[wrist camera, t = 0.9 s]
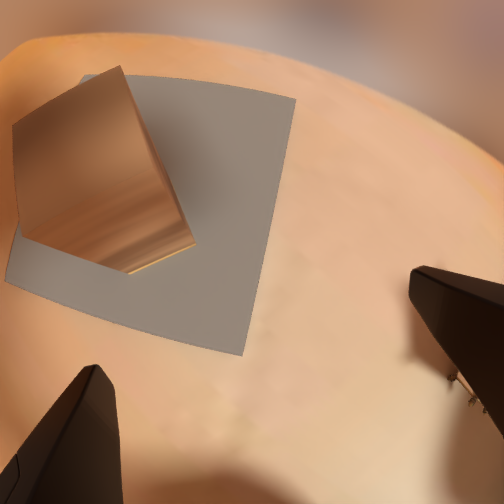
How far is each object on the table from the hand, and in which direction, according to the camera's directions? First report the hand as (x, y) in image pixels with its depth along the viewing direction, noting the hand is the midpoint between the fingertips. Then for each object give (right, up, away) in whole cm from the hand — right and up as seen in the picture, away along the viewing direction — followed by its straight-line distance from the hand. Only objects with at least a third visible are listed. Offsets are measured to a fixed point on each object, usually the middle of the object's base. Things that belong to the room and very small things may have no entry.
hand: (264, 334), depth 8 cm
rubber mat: (-9, +7, +14) cm, 18 cm away
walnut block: (-7, +4, +13) cm, 15 cm away
